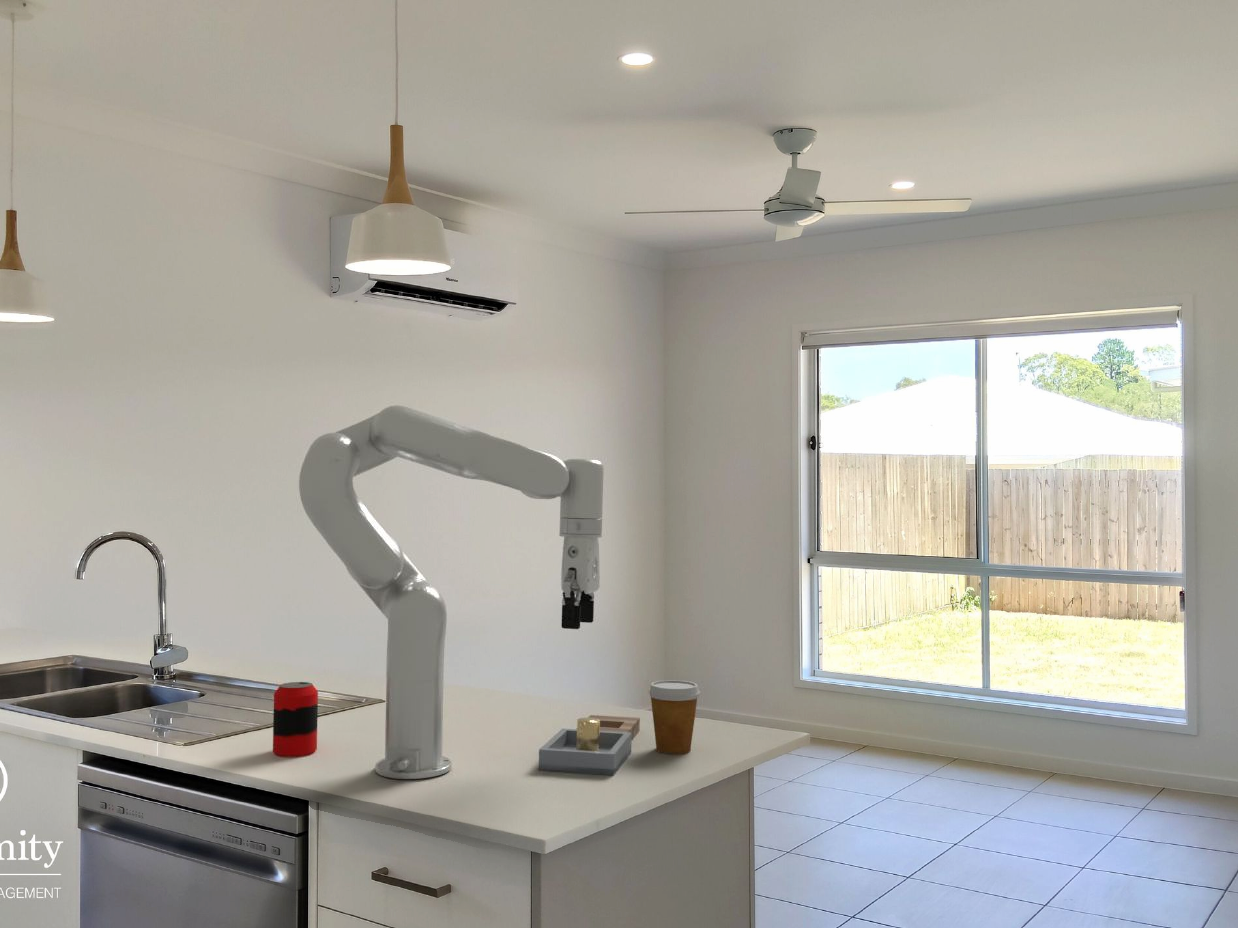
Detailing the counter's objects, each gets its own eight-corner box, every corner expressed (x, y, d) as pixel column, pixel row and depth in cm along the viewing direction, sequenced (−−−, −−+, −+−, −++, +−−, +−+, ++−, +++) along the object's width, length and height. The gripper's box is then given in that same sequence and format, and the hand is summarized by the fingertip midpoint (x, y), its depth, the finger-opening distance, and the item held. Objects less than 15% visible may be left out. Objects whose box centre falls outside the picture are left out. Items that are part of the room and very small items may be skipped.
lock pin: (596, 758, 181) (597, 723, 181) (573, 756, 182) (575, 721, 182) (600, 752, 185) (602, 718, 185) (578, 750, 186) (579, 716, 186)
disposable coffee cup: (707, 748, 194) (708, 683, 194) (684, 759, 185) (685, 691, 186) (662, 741, 198) (663, 677, 199) (638, 751, 190) (639, 685, 191)
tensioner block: (626, 747, 193) (626, 733, 193) (573, 743, 195) (574, 730, 195) (639, 730, 207) (639, 717, 207) (590, 727, 209) (590, 714, 209)
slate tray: (613, 775, 174) (614, 754, 174) (538, 770, 177) (539, 749, 177) (631, 751, 190) (631, 732, 190) (562, 747, 193) (562, 728, 193)
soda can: (325, 749, 189) (327, 683, 189) (298, 759, 182) (299, 690, 182) (291, 745, 192) (293, 679, 192) (263, 754, 185) (264, 686, 185)
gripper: (589, 530, 176) (586, 632, 175) (611, 528, 193) (609, 620, 192) (546, 529, 177) (543, 629, 177) (572, 526, 194) (569, 618, 194)
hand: (577, 625), depth 185 cm, fingers open, 9 cm apart
